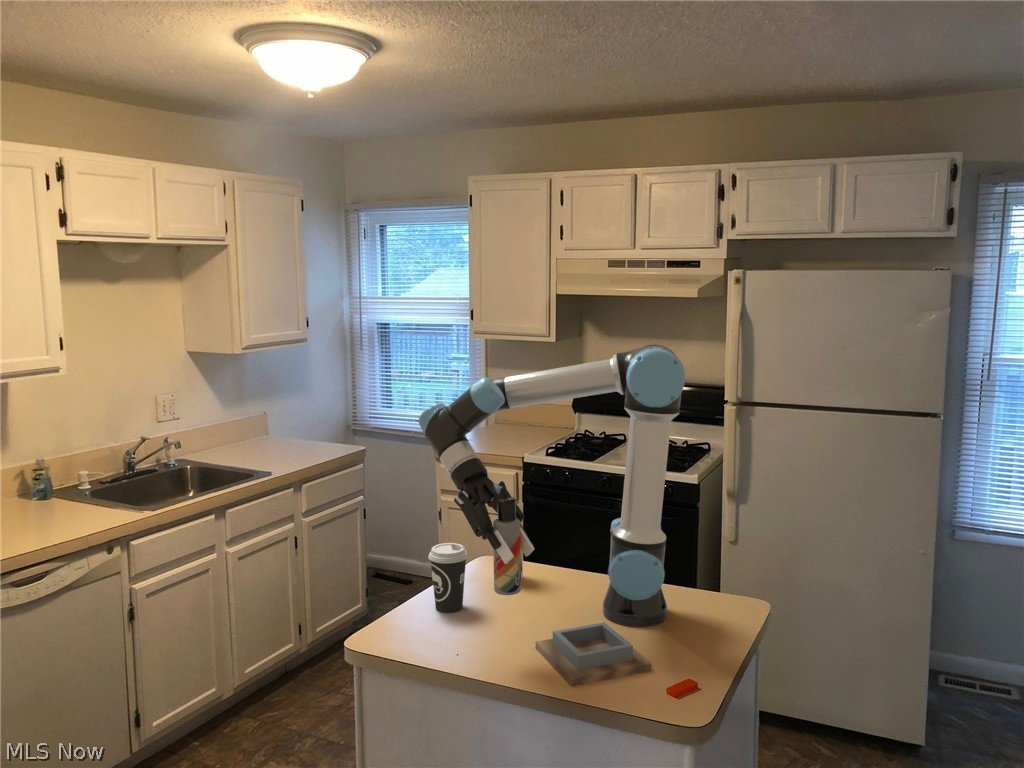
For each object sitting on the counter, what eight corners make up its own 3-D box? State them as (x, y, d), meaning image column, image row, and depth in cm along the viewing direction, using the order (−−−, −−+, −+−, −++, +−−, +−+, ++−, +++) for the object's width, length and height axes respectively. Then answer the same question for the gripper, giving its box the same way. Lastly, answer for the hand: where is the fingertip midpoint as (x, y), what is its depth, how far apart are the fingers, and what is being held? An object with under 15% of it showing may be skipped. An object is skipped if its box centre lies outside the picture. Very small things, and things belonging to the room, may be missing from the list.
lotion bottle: (511, 597, 165) (510, 503, 162) (488, 592, 168) (487, 499, 165) (526, 588, 170) (525, 496, 167) (503, 583, 173) (502, 493, 170)
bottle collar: (604, 635, 176) (604, 622, 175) (632, 659, 164) (632, 645, 164) (552, 644, 171) (552, 631, 171) (578, 670, 160) (578, 656, 159)
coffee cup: (463, 617, 189) (462, 555, 188) (424, 614, 191) (422, 553, 190) (473, 601, 199) (472, 543, 197) (436, 598, 201) (434, 540, 199)
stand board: (609, 634, 180) (609, 628, 179) (651, 670, 163) (651, 663, 163) (535, 648, 173) (535, 641, 173) (571, 686, 156) (571, 679, 156)
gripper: (486, 469, 183) (540, 554, 174) (424, 484, 170) (478, 578, 161) (502, 449, 179) (559, 536, 170) (440, 463, 166) (497, 558, 156)
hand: (520, 556), depth 165 cm, fingers closed on lotion bottle, 5 cm apart
